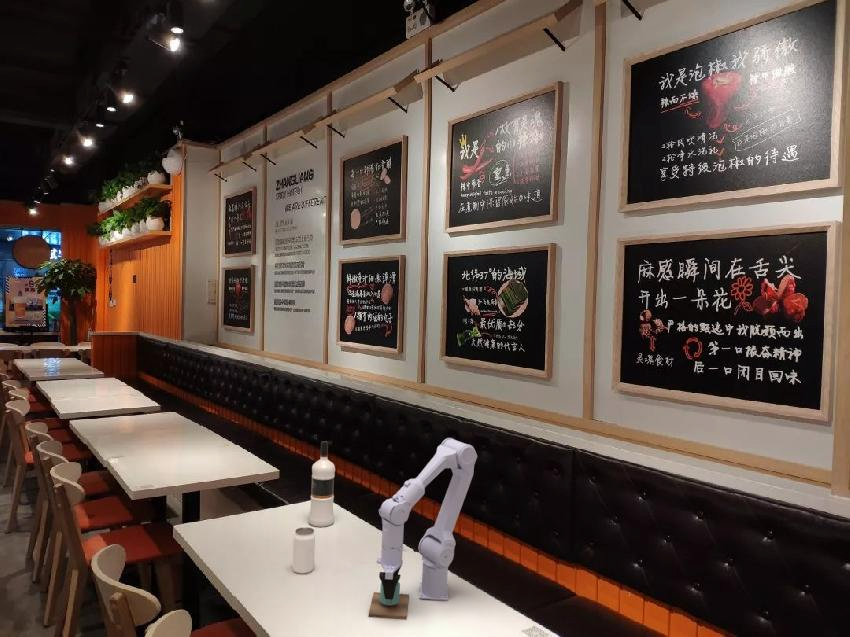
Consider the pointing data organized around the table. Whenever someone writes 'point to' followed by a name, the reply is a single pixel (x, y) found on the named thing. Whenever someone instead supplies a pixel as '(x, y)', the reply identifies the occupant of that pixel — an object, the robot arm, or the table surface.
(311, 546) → the can
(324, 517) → the vodka
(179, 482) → the table surface
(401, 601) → the stud board
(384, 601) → the cap
